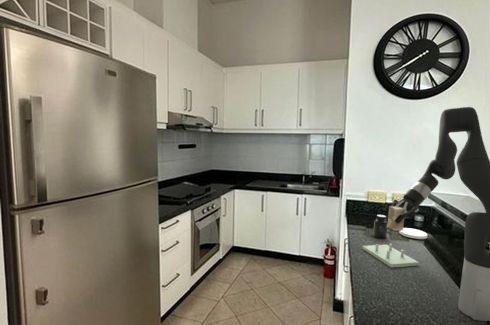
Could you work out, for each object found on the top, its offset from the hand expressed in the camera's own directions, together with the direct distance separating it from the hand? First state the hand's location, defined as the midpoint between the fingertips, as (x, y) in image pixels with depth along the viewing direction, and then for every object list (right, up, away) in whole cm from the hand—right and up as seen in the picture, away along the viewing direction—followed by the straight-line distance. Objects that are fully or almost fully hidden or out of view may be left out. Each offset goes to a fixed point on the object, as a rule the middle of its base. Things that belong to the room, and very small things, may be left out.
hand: (392, 220), depth 131 cm
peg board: (+1, -18, +4) cm, 18 cm away
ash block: (+2, -4, +1) cm, 5 cm away
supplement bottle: (+9, -16, +31) cm, 36 cm away
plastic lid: (+30, -16, +35) cm, 49 cm away
